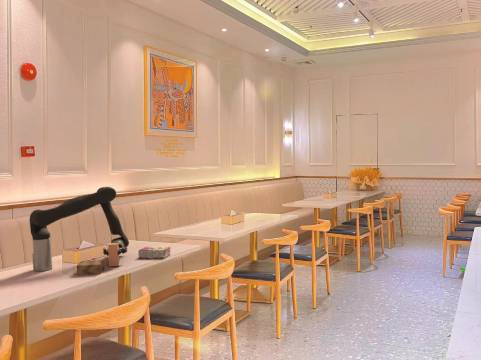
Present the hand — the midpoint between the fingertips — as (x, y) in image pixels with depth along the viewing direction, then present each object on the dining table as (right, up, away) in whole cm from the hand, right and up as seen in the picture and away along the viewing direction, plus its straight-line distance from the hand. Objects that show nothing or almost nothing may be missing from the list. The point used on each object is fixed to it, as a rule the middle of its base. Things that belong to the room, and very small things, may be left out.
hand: (113, 253), depth 276 cm
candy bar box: (+10, -3, +27) cm, 29 cm away
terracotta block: (0, -7, +3) cm, 7 cm away
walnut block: (-9, -8, -9) cm, 16 cm away
